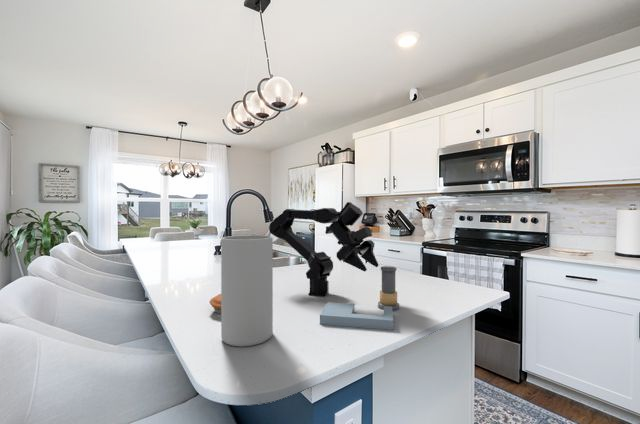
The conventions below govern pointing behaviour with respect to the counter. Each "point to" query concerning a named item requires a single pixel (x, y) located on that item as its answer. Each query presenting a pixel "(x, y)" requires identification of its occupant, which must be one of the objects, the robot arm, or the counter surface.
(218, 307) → the pie
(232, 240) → the cylinder vase
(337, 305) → the notched board
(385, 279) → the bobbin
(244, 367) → the counter surface
